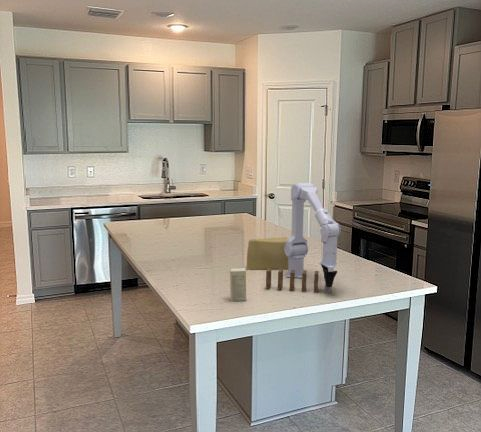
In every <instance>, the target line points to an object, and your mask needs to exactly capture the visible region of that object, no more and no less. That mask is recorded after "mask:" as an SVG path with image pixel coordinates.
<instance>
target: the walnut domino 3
mask: <svg viewBox="0 0 481 432" xmlns="http://www.w3.org/2000/svg"><path fill="white" fill-rule="evenodd" d="M295 279H296V278H295V270H292V269H291V271H290V277H289V292H294V291H295Z"/></svg>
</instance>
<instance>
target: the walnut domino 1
mask: <svg viewBox="0 0 481 432" xmlns="http://www.w3.org/2000/svg"><path fill="white" fill-rule="evenodd" d="M271 288H272V270H271V268H268V269H267V270H266V271H265V290H266V291H267V290H268V291H270V290H271Z"/></svg>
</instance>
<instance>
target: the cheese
mask: <svg viewBox="0 0 481 432" xmlns="http://www.w3.org/2000/svg"><path fill="white" fill-rule="evenodd" d="M288 238H289V237H288V236H282V237H269V238H267V237H266V238H250V239H249V240H248V244H247V252H246V269H247V270H248V271H264V270H266V271H267V269H268V268H271V271H272V270H279V269H283V270H288V257H287V256H286V254H285V251H284V248H285V244H286V240H287V239H288Z"/></svg>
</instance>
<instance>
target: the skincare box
mask: <svg viewBox="0 0 481 432" xmlns="http://www.w3.org/2000/svg"><path fill="white" fill-rule="evenodd" d="M246 269H247V268H245V267H241V268H230V269H229V274H230V275H229V277H230V279H229V280H230V283H229V285H230V286H229V287H230V301H231V302H237V301H238V302H243V301H247V270H246Z"/></svg>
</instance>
